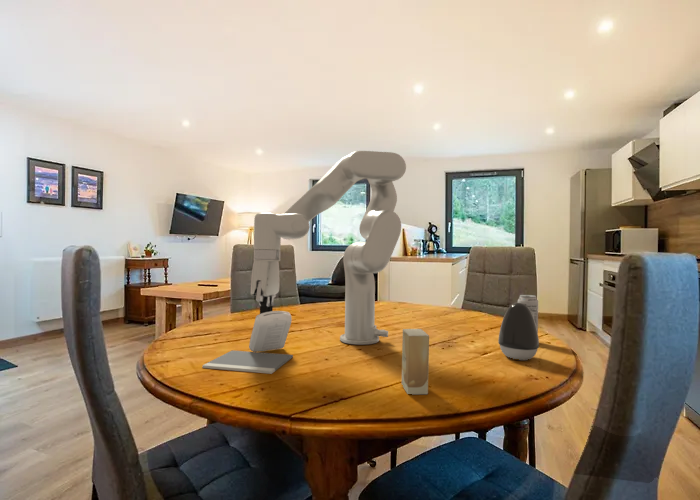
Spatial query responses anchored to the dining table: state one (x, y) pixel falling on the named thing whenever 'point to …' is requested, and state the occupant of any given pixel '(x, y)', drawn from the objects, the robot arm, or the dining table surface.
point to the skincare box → (415, 361)
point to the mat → (249, 361)
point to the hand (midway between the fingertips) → (266, 319)
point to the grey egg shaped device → (518, 333)
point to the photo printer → (270, 331)
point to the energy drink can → (531, 306)
